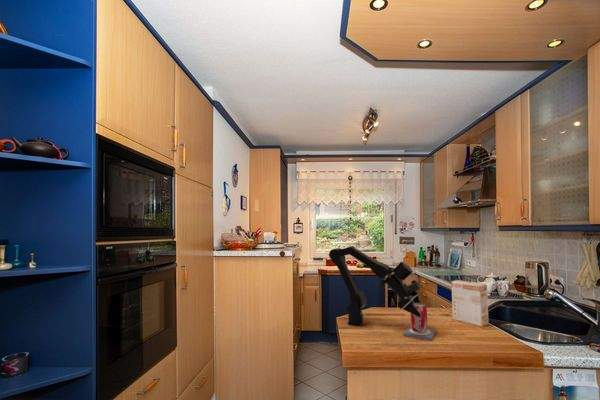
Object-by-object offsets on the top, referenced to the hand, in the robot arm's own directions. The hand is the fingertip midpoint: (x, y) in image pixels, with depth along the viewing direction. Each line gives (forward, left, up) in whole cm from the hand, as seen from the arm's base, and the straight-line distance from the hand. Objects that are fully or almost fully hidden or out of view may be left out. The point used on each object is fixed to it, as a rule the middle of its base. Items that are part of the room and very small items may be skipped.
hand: (422, 313), depth 152 cm
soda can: (-2, 0, -8) cm, 8 cm away
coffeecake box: (+19, +29, -10) cm, 36 cm away
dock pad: (-1, 0, -9) cm, 9 cm away
